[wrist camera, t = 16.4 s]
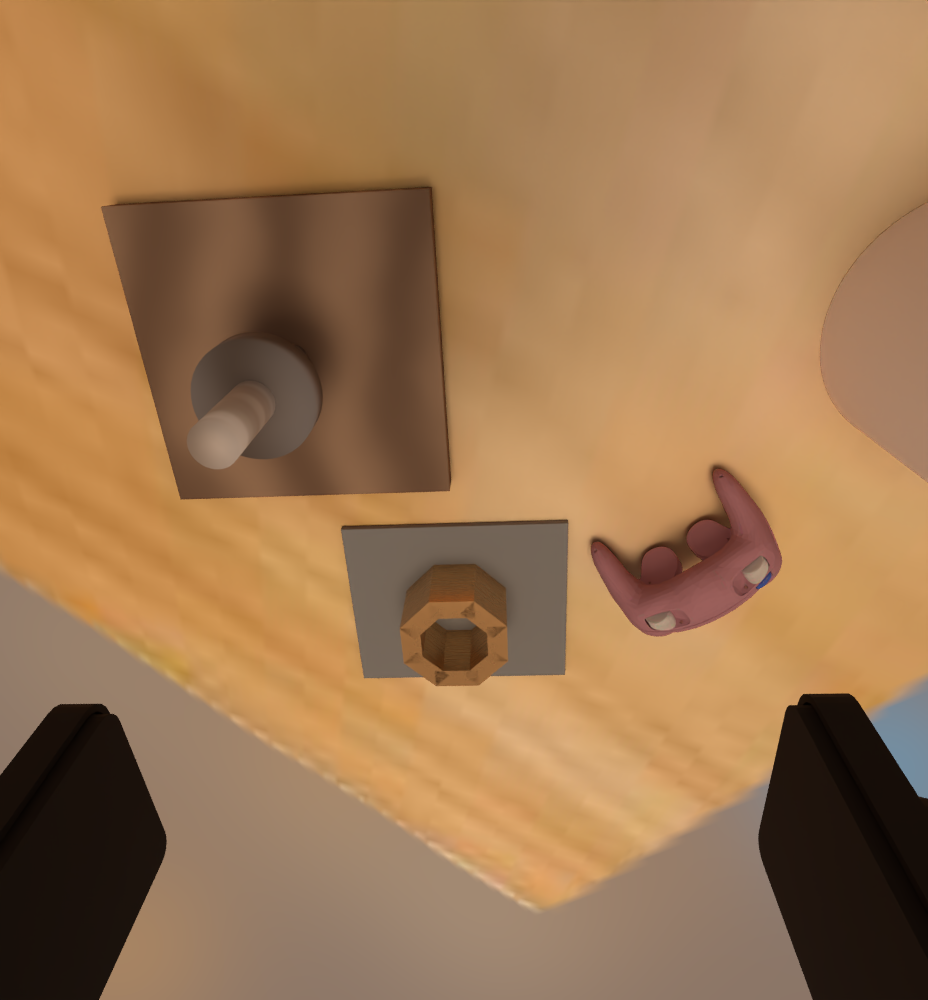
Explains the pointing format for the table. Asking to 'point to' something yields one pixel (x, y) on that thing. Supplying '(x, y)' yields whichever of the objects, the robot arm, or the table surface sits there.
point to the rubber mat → (492, 546)
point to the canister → (884, 342)
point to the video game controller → (697, 569)
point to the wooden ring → (455, 651)
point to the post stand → (290, 340)
